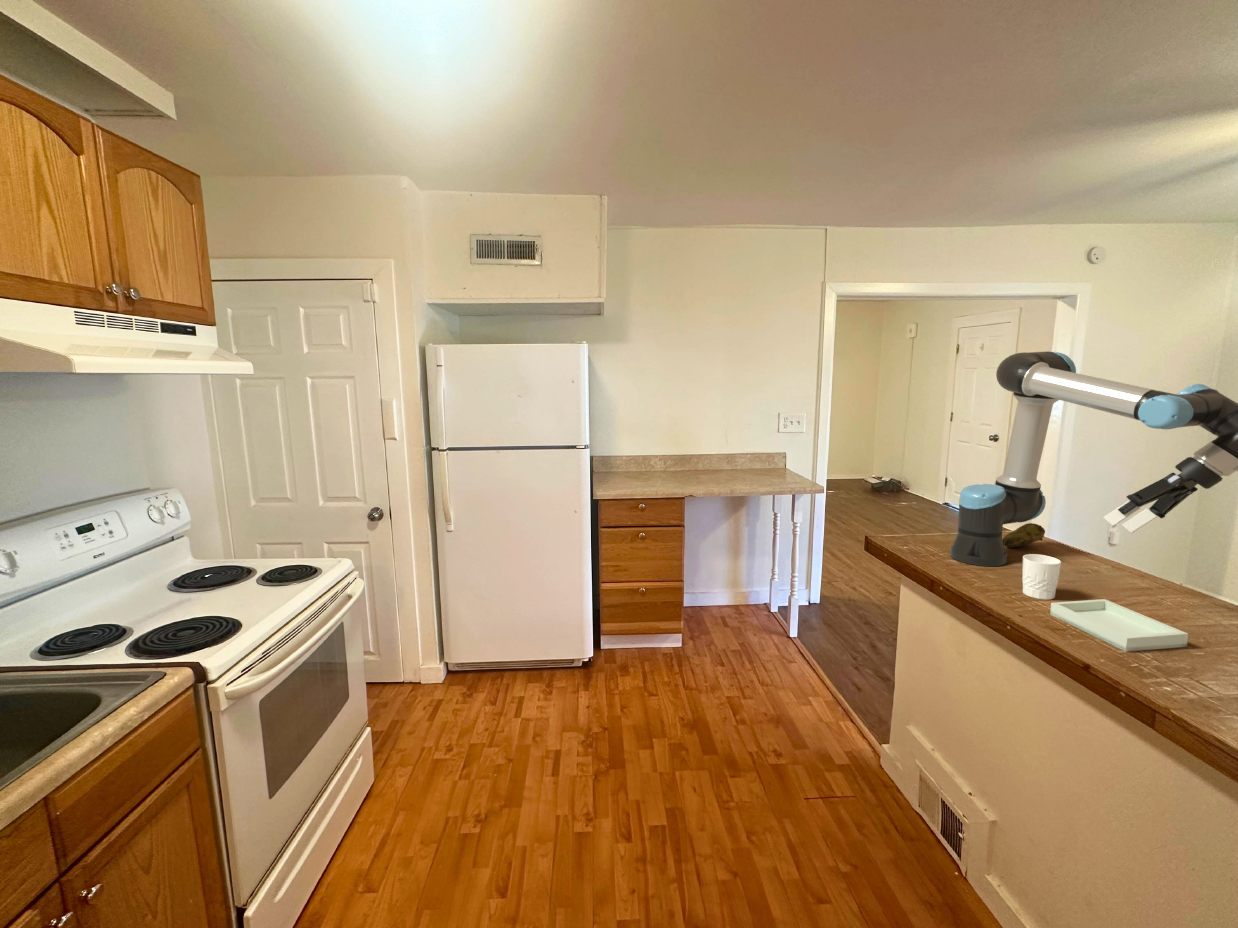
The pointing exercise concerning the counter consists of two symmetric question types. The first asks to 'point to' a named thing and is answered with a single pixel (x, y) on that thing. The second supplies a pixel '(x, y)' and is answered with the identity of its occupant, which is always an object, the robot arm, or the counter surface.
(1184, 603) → the counter surface
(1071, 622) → the tray
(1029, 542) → the avocado
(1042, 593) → the white cup
